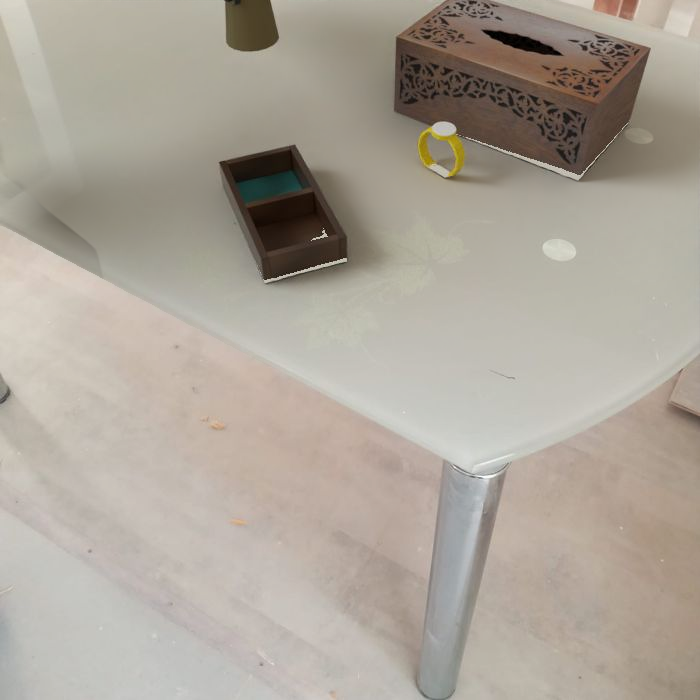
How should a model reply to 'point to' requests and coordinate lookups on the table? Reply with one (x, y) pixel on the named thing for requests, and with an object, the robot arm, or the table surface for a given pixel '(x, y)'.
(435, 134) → the watch
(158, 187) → the table surface
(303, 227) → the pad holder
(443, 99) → the tissue box cover
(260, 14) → the olive peg doll
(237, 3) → the robot arm
